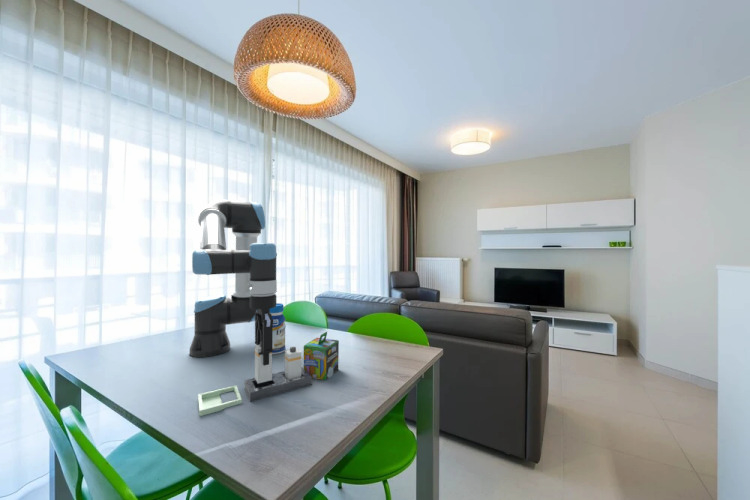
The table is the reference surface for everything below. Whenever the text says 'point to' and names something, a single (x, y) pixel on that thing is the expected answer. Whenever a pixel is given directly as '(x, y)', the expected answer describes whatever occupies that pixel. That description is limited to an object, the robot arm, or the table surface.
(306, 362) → the chalk box
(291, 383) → the grey slotted holder
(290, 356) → the twin plug
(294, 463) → the table surface
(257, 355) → the plug
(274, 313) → the beverage bottle
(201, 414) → the tray
